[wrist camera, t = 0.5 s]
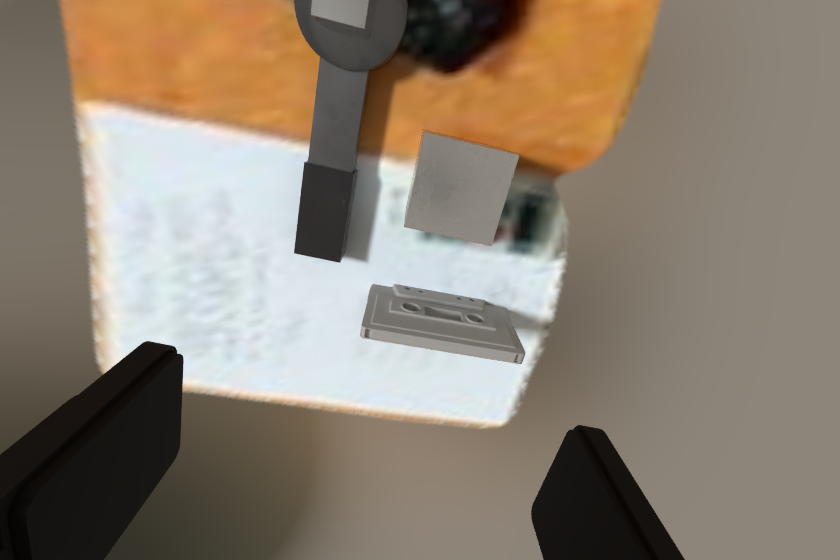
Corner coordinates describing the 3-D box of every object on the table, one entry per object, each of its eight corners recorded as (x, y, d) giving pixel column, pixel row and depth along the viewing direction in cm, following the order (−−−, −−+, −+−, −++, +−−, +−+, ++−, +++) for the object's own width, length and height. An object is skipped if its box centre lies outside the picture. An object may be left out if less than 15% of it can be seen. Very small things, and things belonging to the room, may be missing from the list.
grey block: (422, 129, 29) (424, 132, 24) (500, 147, 30) (519, 155, 25) (405, 207, 32) (404, 226, 26) (478, 223, 32) (491, 245, 27)
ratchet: (364, 258, 33) (354, 285, 28) (279, 241, 33) (254, 265, 27) (417, -33, 26) (419, -71, 21) (310, -64, 25) (282, -112, 20)
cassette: (368, 297, 35) (357, 343, 28) (372, 278, 34) (361, 320, 27) (500, 320, 36) (522, 370, 29) (506, 302, 35) (529, 349, 28)
